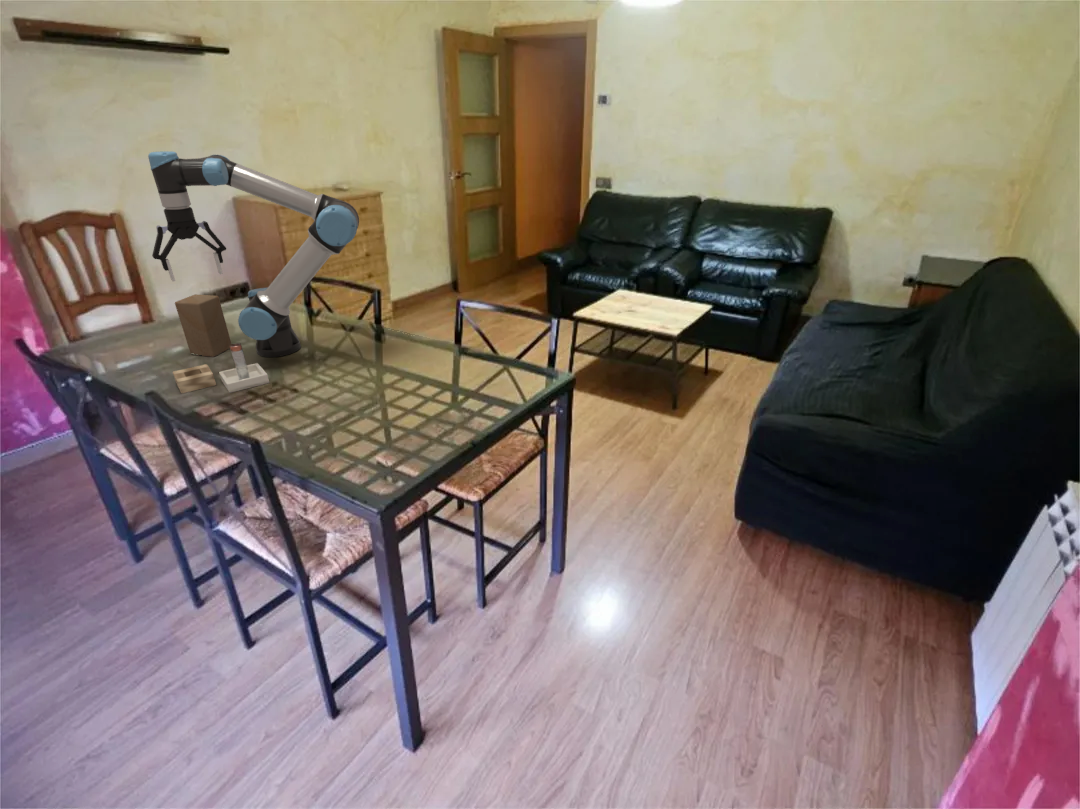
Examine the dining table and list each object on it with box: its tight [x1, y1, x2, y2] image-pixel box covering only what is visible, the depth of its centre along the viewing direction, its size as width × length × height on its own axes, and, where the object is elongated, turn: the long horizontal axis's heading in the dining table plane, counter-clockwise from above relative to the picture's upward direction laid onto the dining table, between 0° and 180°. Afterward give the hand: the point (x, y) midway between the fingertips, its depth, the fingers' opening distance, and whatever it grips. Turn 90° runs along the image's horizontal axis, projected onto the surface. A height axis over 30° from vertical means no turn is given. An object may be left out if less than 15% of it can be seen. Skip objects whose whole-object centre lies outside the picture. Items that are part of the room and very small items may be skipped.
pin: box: [230, 342, 250, 380], centre depth 182 cm, size 3×3×12 cm
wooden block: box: [174, 294, 233, 358], centre depth 204 cm, size 10×10×20 cm
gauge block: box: [172, 363, 217, 394], centre depth 182 cm, size 10×10×4 cm
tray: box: [218, 362, 270, 394], centre depth 184 cm, size 12×12×3 cm
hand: (197, 276), depth 180 cm, fingers open, 13 cm apart
